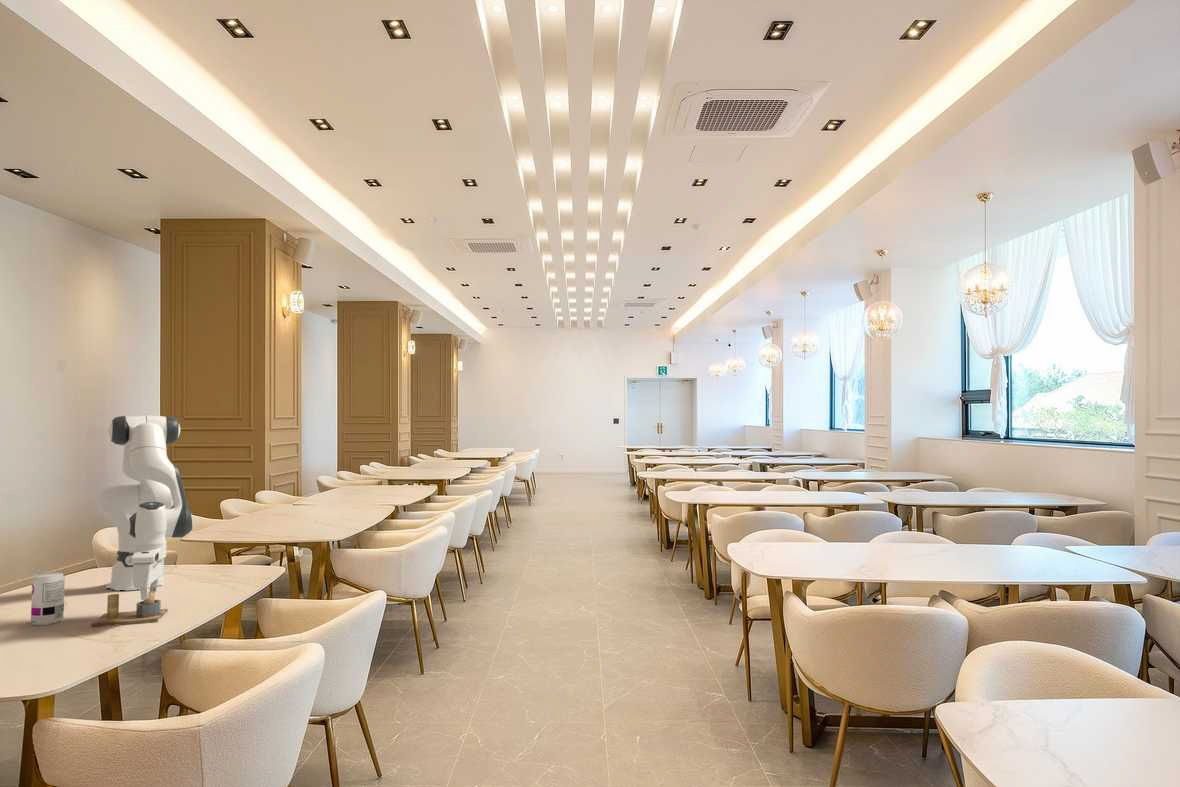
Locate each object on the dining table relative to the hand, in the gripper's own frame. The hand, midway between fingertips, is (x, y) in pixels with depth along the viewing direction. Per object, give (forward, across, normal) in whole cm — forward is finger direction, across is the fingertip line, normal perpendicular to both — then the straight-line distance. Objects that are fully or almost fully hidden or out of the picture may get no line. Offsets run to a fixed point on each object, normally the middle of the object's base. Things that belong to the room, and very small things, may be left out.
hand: (149, 595), depth 227 cm
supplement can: (+7, -4, -29) cm, 30 cm away
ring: (+6, 0, 0) cm, 6 cm away
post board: (+7, 0, -5) cm, 9 cm away
